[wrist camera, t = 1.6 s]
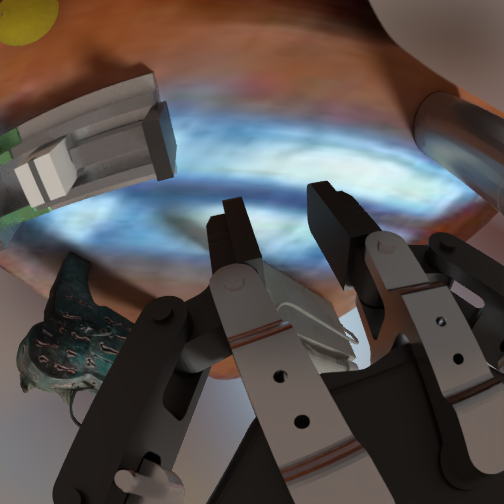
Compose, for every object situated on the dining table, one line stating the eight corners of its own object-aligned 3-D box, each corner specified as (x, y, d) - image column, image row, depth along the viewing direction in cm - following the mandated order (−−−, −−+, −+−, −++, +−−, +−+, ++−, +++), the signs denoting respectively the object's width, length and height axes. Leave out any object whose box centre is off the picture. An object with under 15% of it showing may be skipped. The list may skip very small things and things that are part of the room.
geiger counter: (235, 364, 28) (357, 393, 41) (284, 330, 25) (391, 372, 39) (219, 268, 38) (329, 326, 52) (253, 234, 36) (357, 305, 49)
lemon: (80, -6, 15) (44, -19, 9) (58, 47, 18) (16, 52, 12) (34, -11, 13) (-9, -18, 7) (14, 41, 16) (-32, 48, 10)
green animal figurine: (47, 265, 33) (4, 408, 17) (64, 232, 30) (10, 388, 15) (166, 326, 44) (174, 456, 28) (192, 303, 41) (209, 444, 26)
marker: (69, 133, 23) (48, 152, 19) (82, 171, 25) (65, 196, 21) (36, 147, 22) (13, 169, 18) (50, 183, 25) (31, 208, 21)
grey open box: (154, 71, 22) (143, 78, 17) (176, 167, 29) (175, 197, 24) (-12, 142, 21) (-44, 168, 16) (21, 216, 28) (-2, 251, 23)
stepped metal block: (166, 100, 23) (158, 118, 18) (176, 145, 26) (174, 177, 20) (72, 131, 22) (41, 159, 17) (86, 172, 25) (63, 209, 20)
